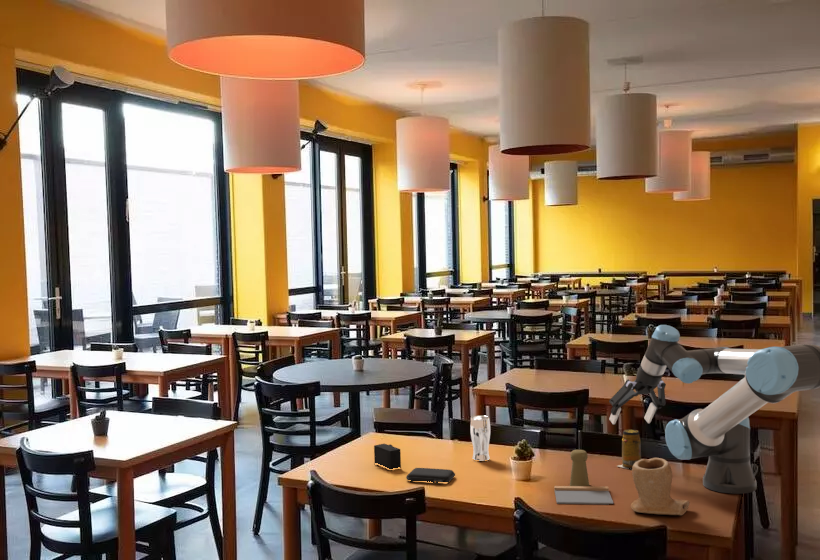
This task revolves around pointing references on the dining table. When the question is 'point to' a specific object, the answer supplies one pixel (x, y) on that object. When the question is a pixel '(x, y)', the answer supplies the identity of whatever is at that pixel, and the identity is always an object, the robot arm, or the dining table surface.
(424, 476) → the carrying case or bag
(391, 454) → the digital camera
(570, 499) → the mat
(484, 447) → the beer glass
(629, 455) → the condiment
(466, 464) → the dining table surface
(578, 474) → the cork
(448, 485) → the dining table surface
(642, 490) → the stone cup
